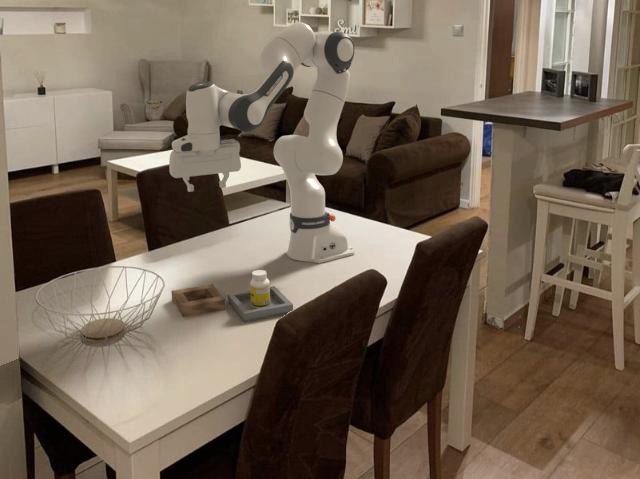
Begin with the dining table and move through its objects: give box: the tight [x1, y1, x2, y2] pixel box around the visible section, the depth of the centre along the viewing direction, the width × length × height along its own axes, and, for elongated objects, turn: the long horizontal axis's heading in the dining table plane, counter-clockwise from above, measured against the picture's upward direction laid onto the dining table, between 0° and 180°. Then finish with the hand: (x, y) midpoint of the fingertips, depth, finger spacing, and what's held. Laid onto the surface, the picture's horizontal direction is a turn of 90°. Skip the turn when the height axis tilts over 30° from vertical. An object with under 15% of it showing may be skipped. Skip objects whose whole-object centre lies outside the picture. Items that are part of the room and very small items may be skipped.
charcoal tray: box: [227, 285, 294, 323], centre depth 202 cm, size 14×14×2 cm
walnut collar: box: [171, 283, 226, 318], centre depth 203 cm, size 12×12×3 cm
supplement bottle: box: [249, 269, 271, 309], centre depth 200 cm, size 5×5×10 cm
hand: (206, 189), depth 209 cm, fingers open, 8 cm apart
